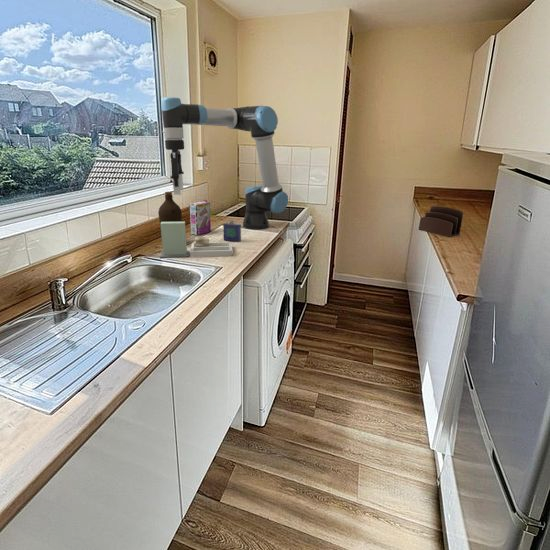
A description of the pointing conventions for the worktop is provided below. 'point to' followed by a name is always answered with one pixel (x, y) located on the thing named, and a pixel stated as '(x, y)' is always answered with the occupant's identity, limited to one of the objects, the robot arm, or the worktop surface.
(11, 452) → the worktop surface
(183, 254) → the mat
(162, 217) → the olive oil
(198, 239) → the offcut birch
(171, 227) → the panel
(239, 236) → the flask
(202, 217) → the candy bar box
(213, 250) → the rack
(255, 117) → the robot arm
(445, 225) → the letter holder
